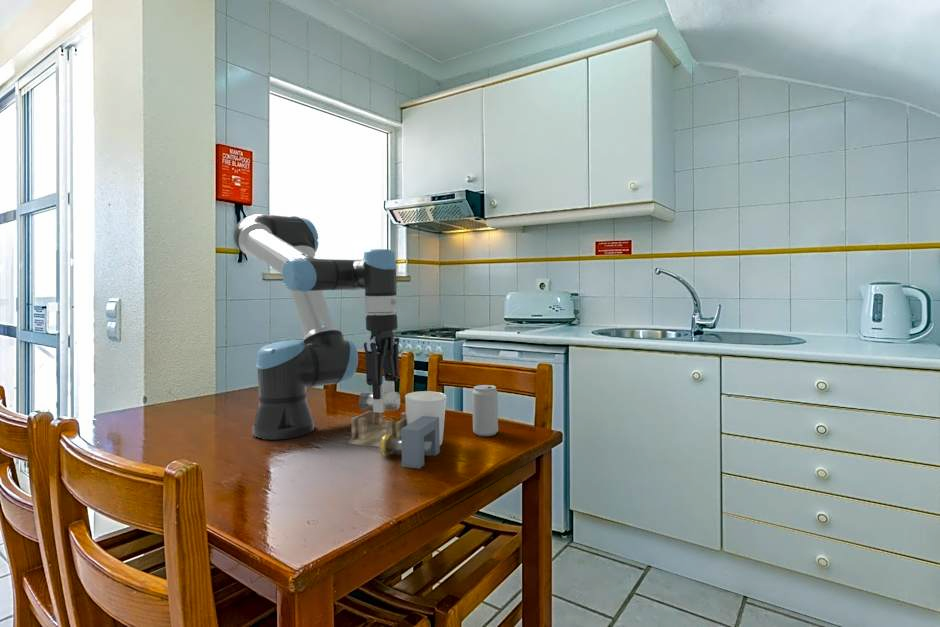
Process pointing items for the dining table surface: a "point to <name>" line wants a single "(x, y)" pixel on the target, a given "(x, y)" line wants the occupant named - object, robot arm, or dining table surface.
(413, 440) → the grey arch block
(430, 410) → the white cup
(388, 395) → the axle
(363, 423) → the cradle
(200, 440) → the dining table surface
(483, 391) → the beverage can
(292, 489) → the dining table surface
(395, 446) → the drift plunger
